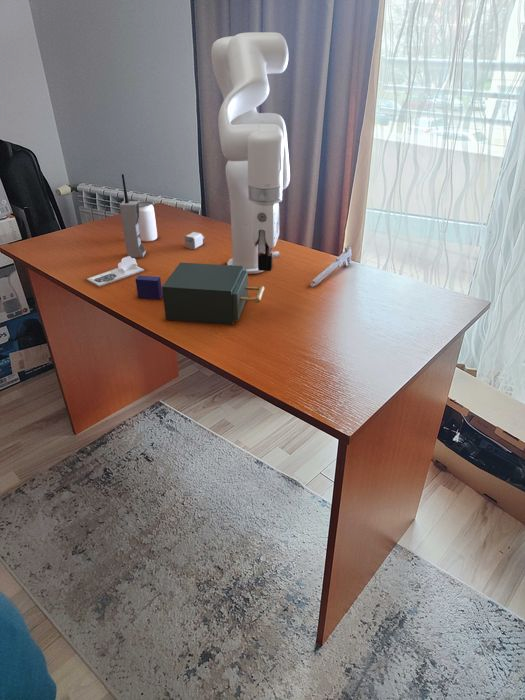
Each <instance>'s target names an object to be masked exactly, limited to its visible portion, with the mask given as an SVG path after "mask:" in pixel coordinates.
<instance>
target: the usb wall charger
mask: <svg viewBox="0 0 525 700" xmlns="http://www.w3.org/2000/svg"><path fill="white" fill-rule="evenodd" d="M205 238H206V236H205V235H203V234H202V232H201V233H200V232H196V231H192V232H191V233H188V234H187V235H185V236H184V246H185V248H187V249H190V250H196V249H197V248H199V247H201V246H203V245H204V241H203V240H204V239H205Z"/></svg>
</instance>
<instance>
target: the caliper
mask: <svg viewBox="0 0 525 700" xmlns="http://www.w3.org/2000/svg"><path fill="white" fill-rule="evenodd" d="M352 256H353V253H352V248H351V246H350V245H347V246H346V247H344V251H343V252H342V253H340V255H338V256H337V257H336V258H335V260H334V261H333V262H332V263H331V264H330V265H329V266H328V267H326V268H325V269H323V271H321V272H320V273H319V274H318V275H317V276H316V277H315V278H314V279H313V280H311V283H310V284H309V287H312V288H313V287H316V286H318V285H319V284H320V283H321V282H322V281H323V280H324V279H325V278H326V277H327V276H329V275H330V274H331V273H332V272H333V271H334V270H335V269H336V268H341V266H342V265H343V266H344V267H347V268H348V265H351V264H352Z"/></svg>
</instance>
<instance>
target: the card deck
mask: <svg viewBox="0 0 525 700" xmlns="http://www.w3.org/2000/svg"><path fill="white" fill-rule="evenodd" d="M134 280H135V287H136V291H137V292H136V293H137V298H138V299H148V300H161V299H162V298H163V293H162V286H163V285H162V280H161V276H151V275H138V276H137V277H136V278H135V279H134Z"/></svg>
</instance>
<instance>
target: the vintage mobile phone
mask: <svg viewBox="0 0 525 700" xmlns="http://www.w3.org/2000/svg"><path fill="white" fill-rule="evenodd" d="M121 180H122V186H123V195H124V196H123V197H124V200H123V201H122V202H120V204H119V206H118V207H119V214H120V220H121V224H122V225H121V226H122V231H123V237H124V243H125V249H126V251H125V252H126V257H127V256H130V257H131V258H135V259H136V258H138V259H141V258H144V256H145V255H146V251H147V250H146V249H145V247H144V245H143V243H142V241H141V236H140V229H139V222H138V219H139V202H140V201H139V200H129V197H128V192H127V187H126V186H127V185H126V180H125V174H124V173H122V174H121Z"/></svg>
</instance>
